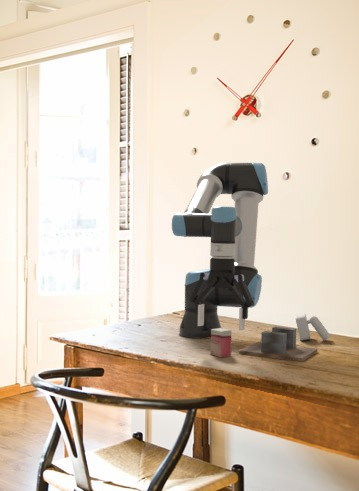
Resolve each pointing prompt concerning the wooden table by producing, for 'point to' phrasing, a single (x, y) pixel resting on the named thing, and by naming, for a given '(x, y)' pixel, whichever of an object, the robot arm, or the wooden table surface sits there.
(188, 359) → the wooden table surface
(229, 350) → the small box
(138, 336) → the wooden table surface
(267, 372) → the wooden table surface
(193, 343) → the wooden table surface
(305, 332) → the wall hook
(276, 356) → the slotted post block
